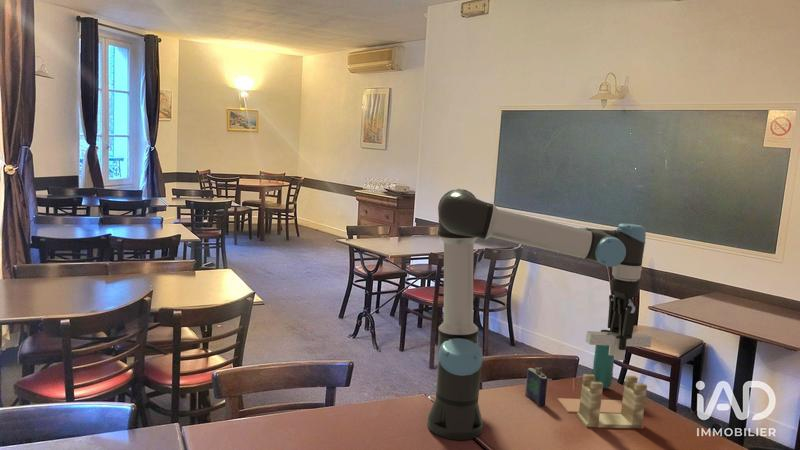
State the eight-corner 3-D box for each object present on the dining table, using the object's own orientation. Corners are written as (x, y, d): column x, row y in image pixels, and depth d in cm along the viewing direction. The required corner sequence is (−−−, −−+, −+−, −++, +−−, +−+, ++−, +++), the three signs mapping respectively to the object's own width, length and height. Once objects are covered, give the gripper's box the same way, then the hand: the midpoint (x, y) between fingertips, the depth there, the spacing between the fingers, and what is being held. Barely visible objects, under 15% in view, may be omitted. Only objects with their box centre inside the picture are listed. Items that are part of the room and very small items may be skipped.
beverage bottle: (613, 392, 191) (620, 334, 188) (593, 391, 191) (600, 333, 188) (607, 384, 197) (613, 328, 194) (587, 383, 197) (594, 327, 195)
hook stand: (586, 427, 165) (591, 383, 163) (576, 415, 172) (581, 374, 170) (643, 428, 166) (648, 385, 165) (631, 417, 173) (636, 375, 171)
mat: (567, 412, 174) (568, 411, 173) (557, 399, 182) (557, 398, 182) (634, 414, 175) (634, 413, 175) (621, 401, 184) (621, 400, 184)
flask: (523, 394, 185) (526, 362, 183) (531, 393, 186) (534, 361, 184) (539, 407, 176) (543, 373, 175) (548, 406, 177) (551, 373, 176)
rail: (589, 344, 164) (590, 334, 164) (585, 341, 167) (586, 331, 167) (650, 347, 166) (651, 337, 165) (645, 343, 169) (646, 333, 168)
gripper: (652, 285, 156) (642, 368, 160) (625, 272, 172) (616, 348, 175) (626, 284, 156) (615, 367, 159) (601, 271, 172) (592, 347, 175)
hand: (616, 357), depth 167 cm, fingers closed on rail, 3 cm apart
